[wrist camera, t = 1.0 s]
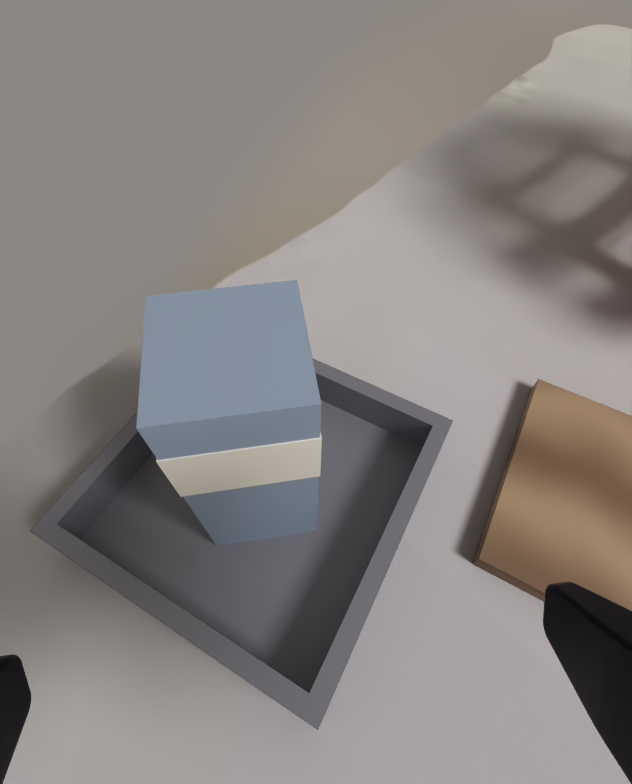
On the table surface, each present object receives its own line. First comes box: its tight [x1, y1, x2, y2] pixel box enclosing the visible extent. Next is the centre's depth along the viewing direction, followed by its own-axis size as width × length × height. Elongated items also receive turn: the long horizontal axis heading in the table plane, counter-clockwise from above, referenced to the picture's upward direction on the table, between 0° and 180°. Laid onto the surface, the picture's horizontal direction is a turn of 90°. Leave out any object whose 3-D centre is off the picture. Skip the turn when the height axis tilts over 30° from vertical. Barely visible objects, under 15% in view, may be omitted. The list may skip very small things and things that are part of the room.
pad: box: [473, 379, 632, 611], centre depth 23 cm, size 12×12×1 cm
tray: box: [30, 358, 453, 730], centre depth 23 cm, size 15×15×3 cm
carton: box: [136, 280, 322, 546], centre depth 18 cm, size 5×5×12 cm
